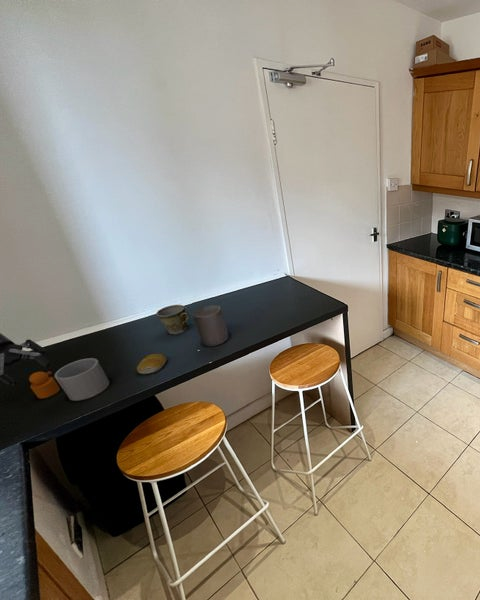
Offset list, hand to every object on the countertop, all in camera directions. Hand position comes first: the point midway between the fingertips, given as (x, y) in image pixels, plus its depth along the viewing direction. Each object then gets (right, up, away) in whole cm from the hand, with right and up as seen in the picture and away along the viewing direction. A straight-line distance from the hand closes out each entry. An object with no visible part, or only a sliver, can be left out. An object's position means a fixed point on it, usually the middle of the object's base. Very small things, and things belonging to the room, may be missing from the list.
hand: (32, 374), depth 100 cm
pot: (+14, -6, +5) cm, 16 cm away
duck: (+2, -7, +3) cm, 8 cm away
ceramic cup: (+22, +10, +37) cm, 44 cm away
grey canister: (+41, +7, +30) cm, 51 cm away
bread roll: (+27, -1, +15) cm, 31 cm away
